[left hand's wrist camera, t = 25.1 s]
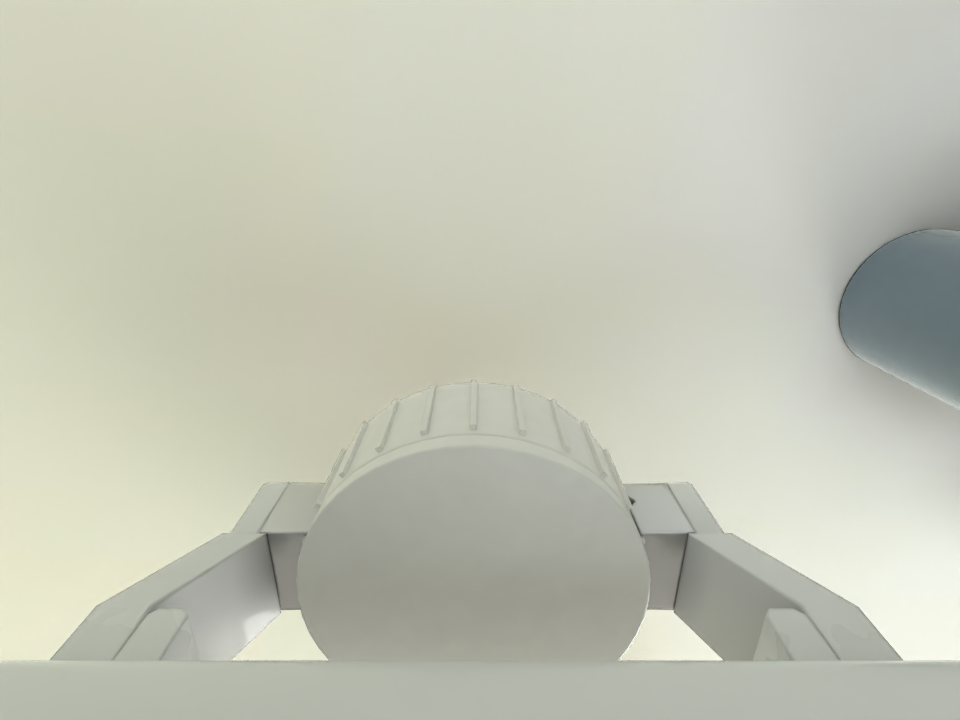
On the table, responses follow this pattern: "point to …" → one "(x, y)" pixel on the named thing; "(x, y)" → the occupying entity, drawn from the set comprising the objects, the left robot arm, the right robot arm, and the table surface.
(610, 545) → the lid
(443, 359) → the table surface
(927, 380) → the jar
